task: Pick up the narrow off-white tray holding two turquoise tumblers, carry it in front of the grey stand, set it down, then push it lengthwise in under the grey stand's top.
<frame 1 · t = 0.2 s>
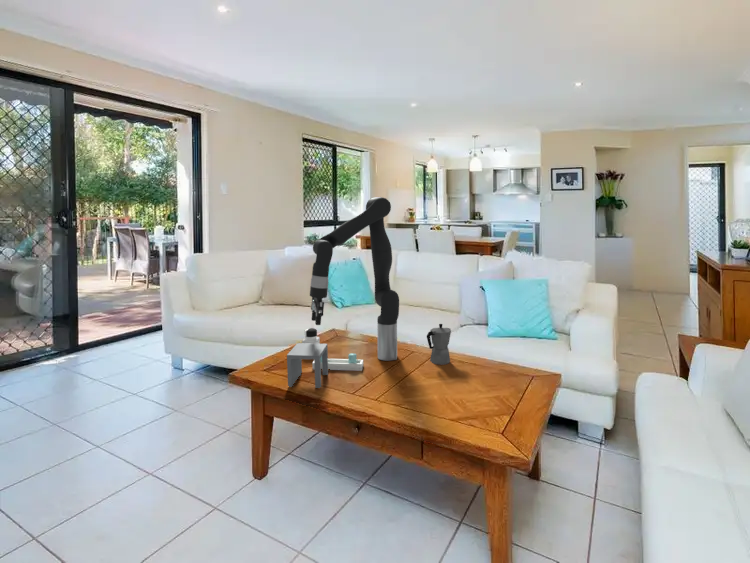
hand: (315, 322, 196), 21 cm above the table, tool pointing down, fingers open, 8 cm apart
grey stand: (308, 380, 186), on the table
coffeepot: (438, 362, 207), on the table
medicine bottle: (311, 353, 222), on the table
tray: (338, 367, 201), on the table
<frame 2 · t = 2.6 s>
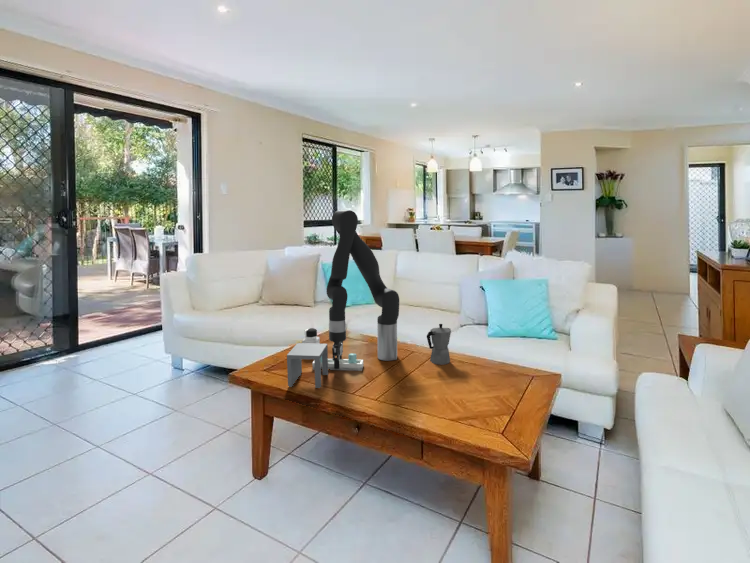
hand: (338, 365, 201), 1 cm above the table, tool pointing down, fingers closed on tray, 6 cm apart
tray: (338, 367, 201), on the table, touching gripper
everything else where it was.
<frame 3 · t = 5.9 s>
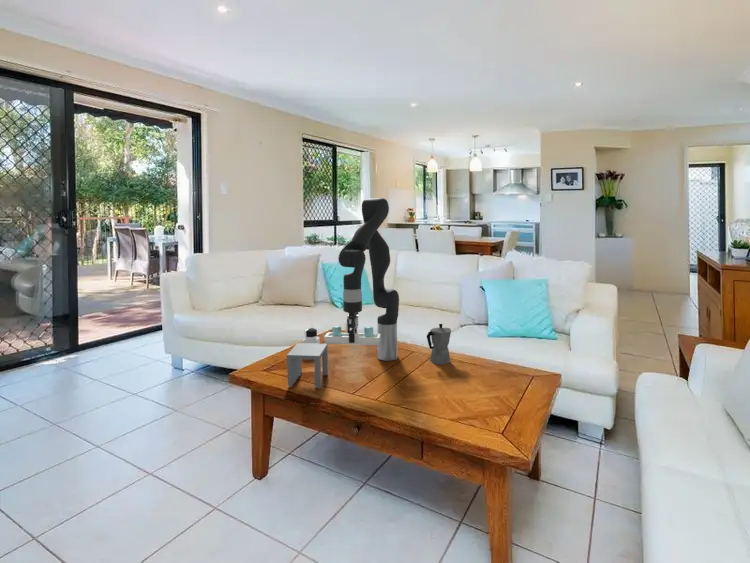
hand: (353, 340, 181), 18 cm above the table, tool pointing down, fingers closed on tray, 6 cm apart
tray: (352, 342, 181), point 17 cm above the table, touching gripper
everything else where it was.
when the fingers open (2 cm above the table, at t = 9.6 s): tray stays where it is, on the table.
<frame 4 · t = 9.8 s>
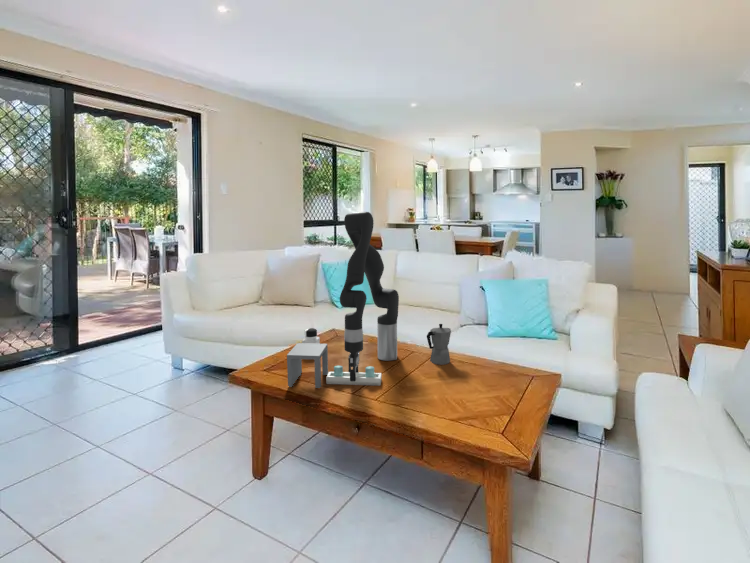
hand: (354, 377, 184), 2 cm above the table, tool pointing down, fingers open, 8 cm apart
tray: (354, 381, 184), on the table
everything else where it was.
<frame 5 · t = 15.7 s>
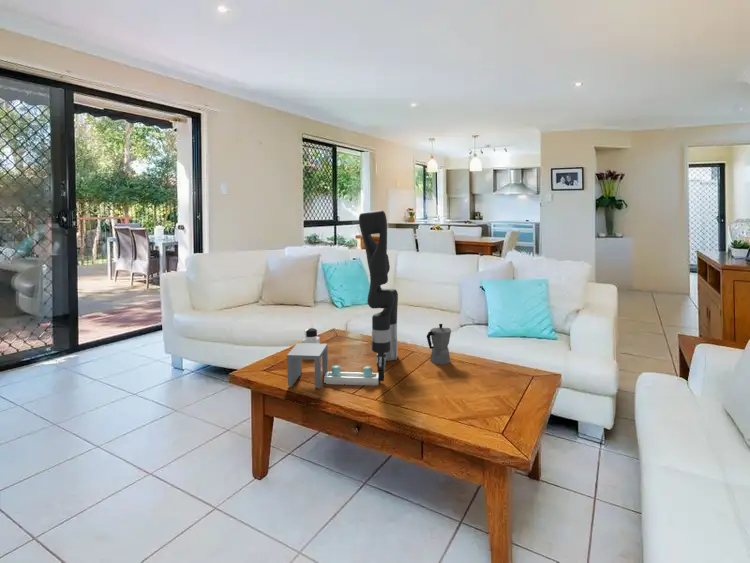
hand: (381, 380, 183), 1 cm above the table, tool pointing down, fingers closed
tray: (352, 381, 184), on the table, touching gripper
everything else where it was.
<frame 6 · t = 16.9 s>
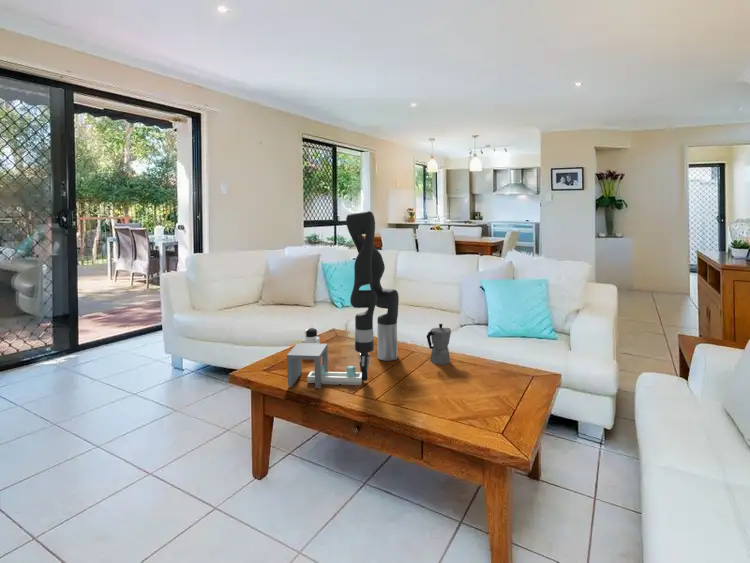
hand: (364, 379, 183), 1 cm above the table, tool pointing down, fingers closed
tray: (335, 381, 185), on the table, touching gripper
everything else where it was.
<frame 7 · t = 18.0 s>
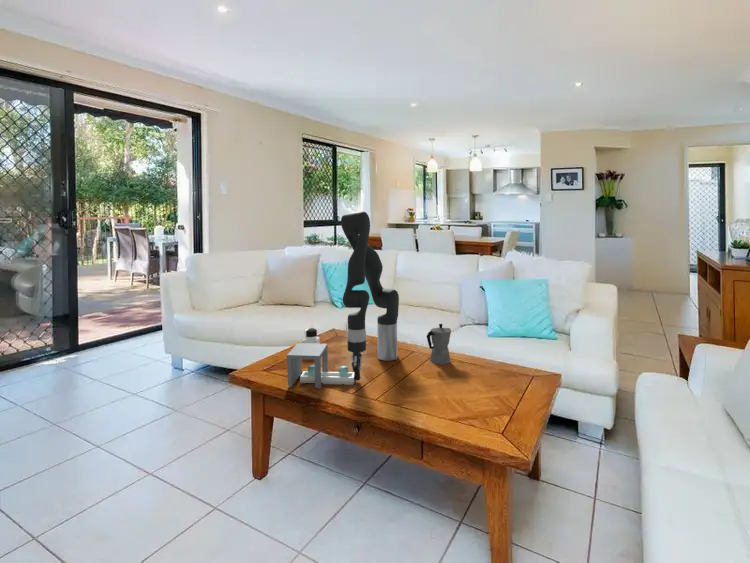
hand: (357, 379, 184), 1 cm above the table, tool pointing down, fingers closed
tray: (328, 381, 185), on the table, touching gripper
everything else where it was.
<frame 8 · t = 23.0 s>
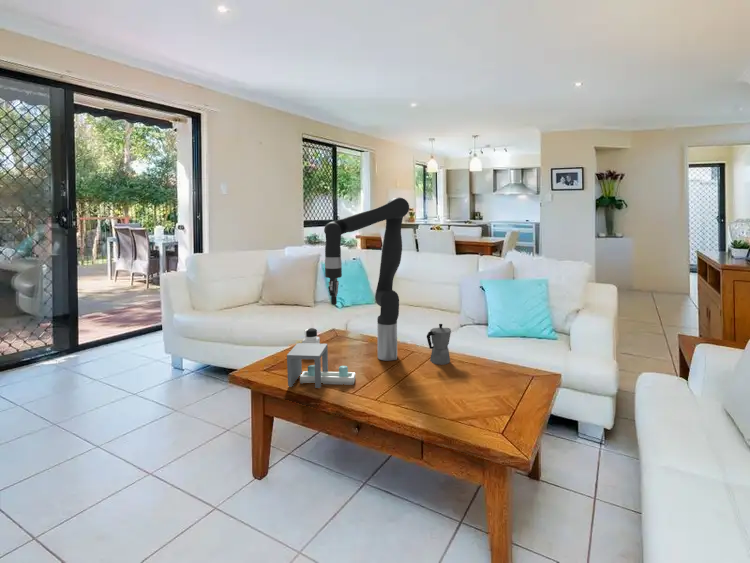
hand: (334, 304, 205), 27 cm above the table, tool pointing down, fingers closed
tray: (328, 381, 185), on the table
everything else where it was.
at the end: tray inside the target area (1.1 cm from its centre), on the table; tray tilted 0°; the gripper is holding nothing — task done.
